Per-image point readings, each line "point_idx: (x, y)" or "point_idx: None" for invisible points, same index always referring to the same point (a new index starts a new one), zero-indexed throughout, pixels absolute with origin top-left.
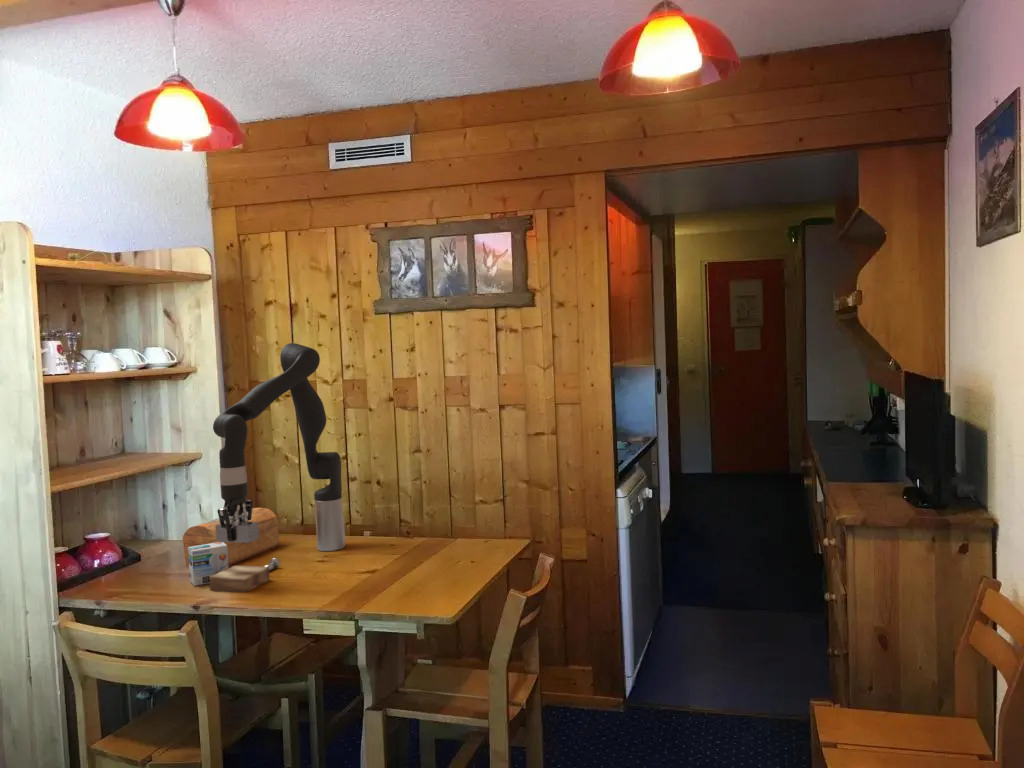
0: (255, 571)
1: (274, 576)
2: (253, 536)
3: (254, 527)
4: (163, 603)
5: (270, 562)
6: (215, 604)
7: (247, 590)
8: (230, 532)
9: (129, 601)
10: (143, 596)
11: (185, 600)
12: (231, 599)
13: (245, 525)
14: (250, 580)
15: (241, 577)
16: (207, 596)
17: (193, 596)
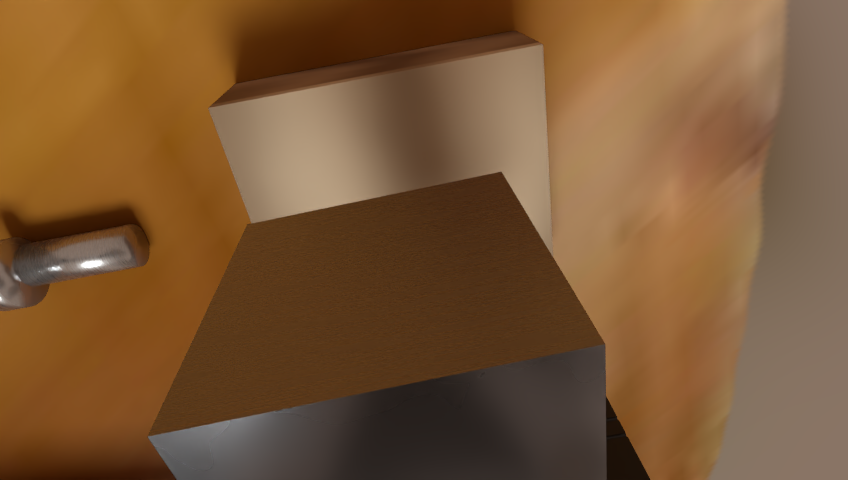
0: (353, 116)
1: (157, 116)
2: (378, 228)
3: (320, 328)
4: (744, 312)
5: (33, 296)
6: (761, 33)
7: (494, 36)
8: (643, 471)
9: (720, 442)
10: (657, 447)
11: (697, 256)
12: (661, 7)
13: (580, 412)
14: (462, 53)
15: (519, 98)
16: (624, 203)
17: (633, 270)
